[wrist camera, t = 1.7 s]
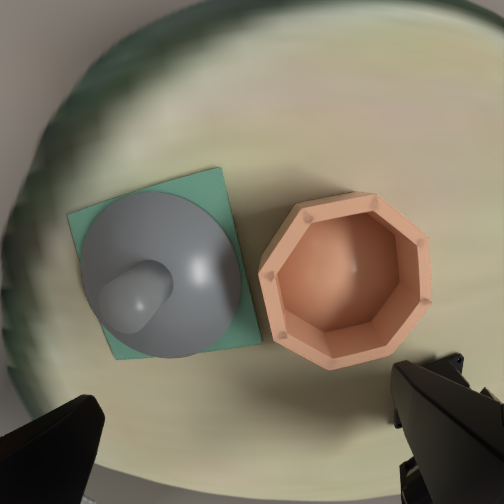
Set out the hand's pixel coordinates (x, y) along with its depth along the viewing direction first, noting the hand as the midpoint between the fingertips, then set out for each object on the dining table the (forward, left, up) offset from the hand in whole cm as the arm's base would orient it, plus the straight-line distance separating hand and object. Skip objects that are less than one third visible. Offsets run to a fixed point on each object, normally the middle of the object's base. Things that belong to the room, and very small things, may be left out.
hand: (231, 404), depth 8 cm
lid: (+1, +7, -12) cm, 14 cm away
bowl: (-1, -5, -13) cm, 14 cm away
